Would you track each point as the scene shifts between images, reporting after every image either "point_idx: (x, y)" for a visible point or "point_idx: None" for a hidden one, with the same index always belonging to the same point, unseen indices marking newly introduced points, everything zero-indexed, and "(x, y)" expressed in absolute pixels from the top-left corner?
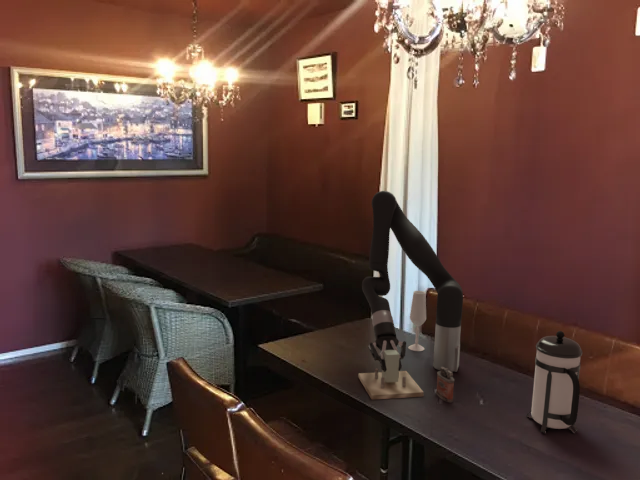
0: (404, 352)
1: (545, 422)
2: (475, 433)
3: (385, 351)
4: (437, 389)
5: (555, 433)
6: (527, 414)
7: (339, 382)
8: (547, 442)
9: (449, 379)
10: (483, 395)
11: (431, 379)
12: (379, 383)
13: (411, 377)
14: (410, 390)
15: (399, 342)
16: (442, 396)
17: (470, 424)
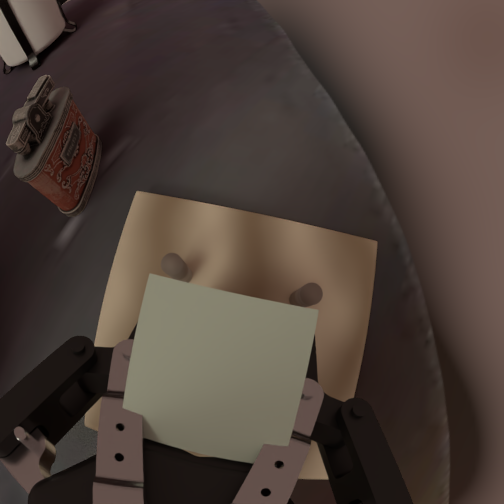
0: (53, 362)
1: (65, 17)
2: (176, 26)
3: (275, 423)
4: (76, 192)
5: None
6: (36, 62)
7: (415, 432)
8: (97, 14)
9: (57, 98)
10: (3, 162)
11: (28, 327)
12: None
13: None
14: (178, 223)
15: (30, 479)
16: (94, 158)
17: (153, 46)
